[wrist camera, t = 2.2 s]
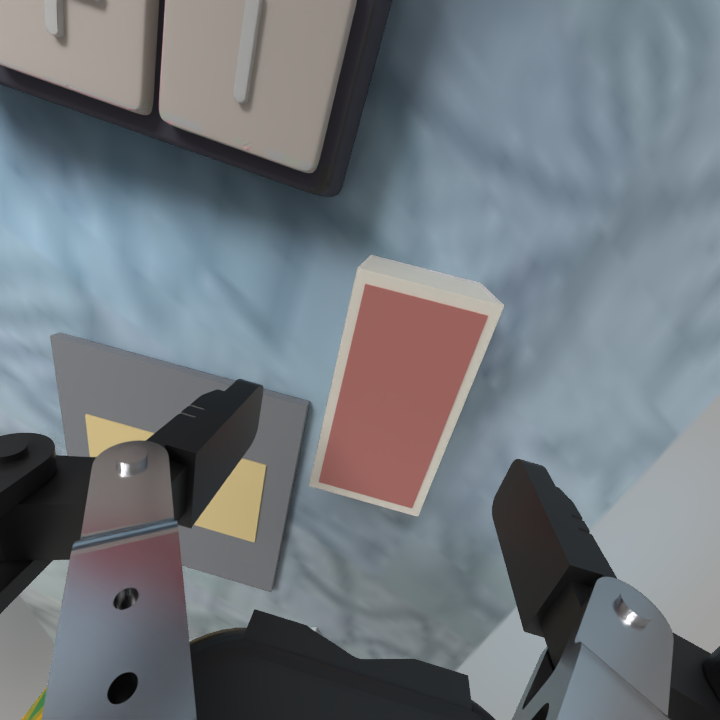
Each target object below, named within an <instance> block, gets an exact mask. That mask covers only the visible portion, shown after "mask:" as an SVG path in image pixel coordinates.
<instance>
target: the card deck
mask: <svg viewBox="0 0 720 720" xmlns="http://www.w3.org/2000/svg"><path fill="white" fill-rule="evenodd" d="M503 308H504V305H503V304H502V303H501V302H500V301H499V300H498V299H497V298H496V297H495V296H494V295H493V294H492V293H491V292H490V291H489V290H488V289H487V288H486V287H485V286H484V285H483V284H482V283H479V282H475V281H472V280H468V279H464V278H460V277H456V276H452V275H448V274H444V273H440V272H437V271H433V270H429V269H425V268H421V267H417V266H413V265H409V264H406V263H402V262H398V261H394V260H390V259H386V258H382V257H378V256H374V255H370V256H369V257H368V258H367V259H366V260H365V261H364V262H363V263H362V264H361V265H360V266H358V267H357V271H356V276H355V280H354V285H353V289H352V294H351V298H350V303H349V307H348V312H347V316H346V321H345V325H344V330H343V334H342V339H341V343H340V348H339V352H338V357H337V361H336V366H335V370H334V375H333V379H332V384H331V388H330V393H329V397H328V402H327V406H326V411H325V415H324V420H323V424H322V429H321V433H320V438H319V442H318V447H317V451H316V456H315V460H314V465H313V470H312V474H311V479H310V483H309V486H311V487H314V488H318V489H321V490H325V491H329V492H332V493H336V494H339V495H343V496H346V497H350V498H353V499H357V500H360V501H364V502H367V503H371V504H374V505H378V506H381V507H385V508H388V509H392V510H395V511H399V512H402V513H406V514H410V515H413V516H417V517H418V515H419V513H420V510H421V508H422V506H423V503H424V501H425V498H426V496H427V493H428V491H429V488H430V486H431V484H432V481H433V479H434V476H435V474H436V471H437V469H438V467H439V464H440V462H441V459H442V457H443V454H444V452H445V449H446V447H447V445H448V442H449V440H450V437H451V435H452V432H453V430H454V427H455V425H456V423H457V420H458V418H459V415H460V413H461V410H462V408H463V405H464V403H465V401H466V398H467V396H468V393H469V391H470V388H471V386H472V384H473V381H474V379H475V376H476V374H477V371H478V369H479V366H480V364H481V362H482V359H483V357H484V354H485V352H486V349H487V347H488V344H489V342H490V340H491V337H492V335H493V332H494V330H495V327H496V325H497V323H498V320H499V318H500V315H501V313H502V310H503Z"/></svg>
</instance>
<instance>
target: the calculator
mask: <svg viewBox="0 0 720 720" xmlns="http://www.w3.org/2000/svg"><path fill="white" fill-rule="evenodd" d="M391 2H392V0H0V84H2V85H5V86H7V87H10V88H13V89H16V90H19V91H22V92H24V93H27V94H30V95H33V96H36V97H39V98H42V99H44V100H47V101H50V102H53V103H56V104H59V105H62V106H64V107H67V108H70V109H73V110H76V111H79V112H81V113H84V114H87V115H90V116H93V117H96V118H99V119H101V120H104V121H107V122H110V123H113V124H116V125H118V126H121V127H124V128H127V129H130V130H133V131H136V132H138V133H141V134H144V135H147V136H150V137H153V138H156V139H158V140H161V141H164V142H167V143H170V144H173V145H175V146H178V147H181V148H184V149H187V150H190V151H193V152H195V153H198V154H201V155H204V156H207V157H210V158H212V159H215V160H218V161H221V162H224V163H227V164H230V165H232V166H235V167H238V168H241V169H244V170H247V171H249V172H252V173H255V174H258V175H261V176H264V177H267V178H269V179H272V180H275V181H278V182H281V183H284V184H287V185H289V186H292V187H295V188H298V189H301V190H304V191H307V192H310V193H313V194H317V195H321V196H327V197H333V196H335V195H337V194H338V193H339V192H340V190H341V188H342V185H343V182H344V178H345V174H346V171H347V167H348V163H349V159H350V156H351V152H352V148H353V144H354V141H355V137H356V133H357V130H358V126H359V122H360V118H361V115H362V111H363V107H364V103H365V100H366V96H367V92H368V88H369V85H370V81H371V77H372V73H373V70H374V66H375V62H376V59H377V55H378V51H379V47H380V44H381V40H382V36H383V32H384V29H385V25H386V21H387V17H388V14H389V10H390V6H391Z"/></svg>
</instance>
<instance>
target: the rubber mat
mask: <svg viewBox="0 0 720 720" xmlns="http://www.w3.org/2000/svg"><path fill="white" fill-rule="evenodd" d="M50 338H51V345H52V352H53V359H54V365H55V372H56V379H57V386H58V393H59V400H60V407H61V414H62V421H63V428H64V435H65V442H66V449H67V456H80V457H97V456H98V455H99V454H100V453H102V452H103V451H104V450H106V449H108V448H110V447H112V446H114V445H117V444H120V443H123V442H128V441H138V440H141V441H146V440H147V439H148V438H149V437H151V436H152V435H153V434H154V433H156V432H157V431H158V430H159V429H160V428H162V427H163V426H164V425H165V424H167V423H168V422H169V421H170V420H172V419H173V418H174V417H175V416H176V415H178V414H181V411H183V410H184V409H185V408H186V407H187V406H190V404H191V403H192V402H194V401H195V400H196V399H197V398H199V397H200V396H201V395H203V394H206V393H208V392H211V391H214V390H217V389H218V390H222V391H225V390H226V389H228V388H229V387H230V386H231V385H232V384H233V383H234V382H235V381H233V380H230V379H226V378H222V377H219V376H215V375H212V374H208V373H204V372H201V371H197V370H193V369H190V368H186V367H183V366H179V365H175V364H172V363H168V362H164V361H161V360H157V359H153V358H150V357H146V356H143V355H139V354H135V353H132V352H128V351H124V350H121V349H117V348H114V347H110V346H106V345H103V344H99V343H95V342H92V341H88V340H84V339H81V338H77V337H74V336H70V335H66V334H63V333H57V334H54V335H51V336H50ZM309 404H310V401H306V400H302V399H299V398H295V397H291V396H288V395H284V394H281V393H277V392H273V391H270V390H266V389H263V398H262V405H261V411H260V418H259V425H258V430H257V433H256V436H255V439H254V441H253V443H252V445H251V446H250V448H249V449H248V451H247V452H246V453H245V455H244V456H243V457H242V459H241V460H240V462H239V463H238V464H237V466H236V467H235V468H234V470H233V471H232V473H231V474H230V475H229V477H228V478H227V479H226V481H225V482H224V484H223V485H222V486H221V488H220V489H219V491H218V492H217V493H216V495H215V496H214V497H213V499H212V500H211V502H210V503H209V504H208V506H207V507H206V508H205V510H204V511H203V513H202V514H201V515H200V517H199V518H198V520H197V521H196V522H195V524H194V525H193V526H192V528H191V529H190V528H187V527H184V526H180V525H178V531H179V541H180V552H181V562H182V566H185V567H189V568H192V569H195V570H199V571H202V572H206V573H209V574H212V575H216V576H219V577H222V578H226V579H229V580H232V581H236V582H239V583H242V584H246V585H249V586H252V587H256V588H259V589H262V590H266V591H269V592H271V591H272V588H273V586H274V582H275V577H276V572H277V567H278V562H279V556H280V551H281V546H282V541H283V536H284V531H285V526H286V521H287V516H288V511H289V506H290V501H291V495H292V490H293V485H294V480H295V475H296V470H297V465H298V460H299V455H300V450H301V445H302V439H303V434H304V429H305V424H306V419H307V414H308V409H309Z"/></svg>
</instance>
